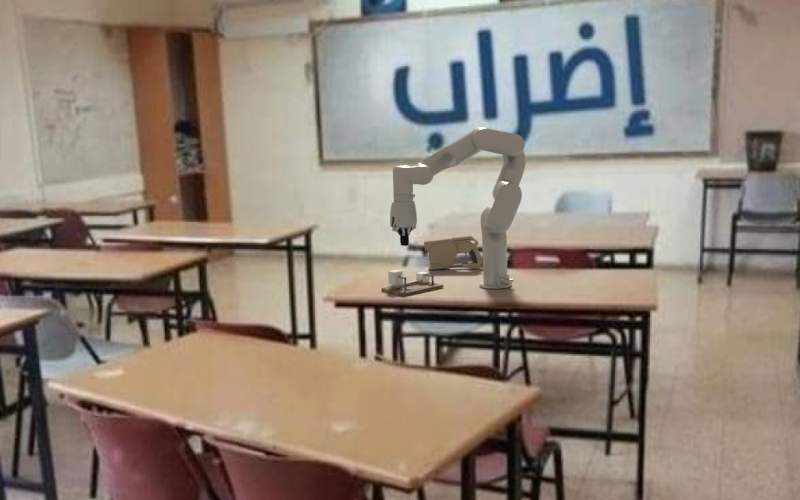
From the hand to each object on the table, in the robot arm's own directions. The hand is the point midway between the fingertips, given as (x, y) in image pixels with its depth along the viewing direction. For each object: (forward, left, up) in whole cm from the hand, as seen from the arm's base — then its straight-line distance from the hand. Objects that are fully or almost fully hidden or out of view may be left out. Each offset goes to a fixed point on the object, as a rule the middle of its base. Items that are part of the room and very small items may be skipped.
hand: (404, 245), depth 308 cm
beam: (+2, -4, -17) cm, 18 cm away
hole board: (+1, -4, -18) cm, 19 cm away
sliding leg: (+2, +2, -17) cm, 17 cm away
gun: (+19, -42, -19) cm, 50 cm away
